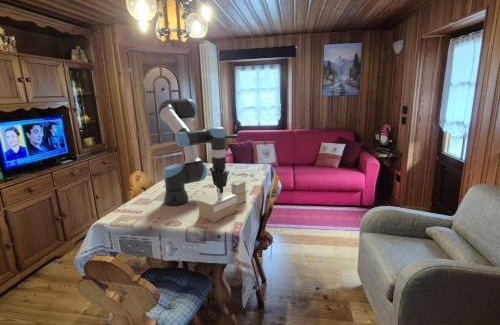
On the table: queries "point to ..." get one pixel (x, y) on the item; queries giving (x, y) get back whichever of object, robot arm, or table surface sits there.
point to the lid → (216, 199)
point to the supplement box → (239, 191)
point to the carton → (217, 210)
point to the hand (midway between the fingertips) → (220, 198)
